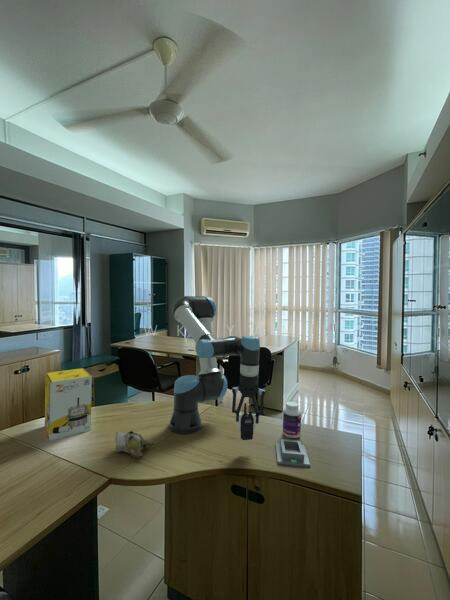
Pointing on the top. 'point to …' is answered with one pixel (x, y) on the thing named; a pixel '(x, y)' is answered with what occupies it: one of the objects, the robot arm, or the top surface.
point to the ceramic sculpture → (131, 443)
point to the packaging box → (67, 402)
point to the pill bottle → (291, 420)
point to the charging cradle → (291, 453)
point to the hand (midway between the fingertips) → (246, 429)
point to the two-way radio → (247, 425)
